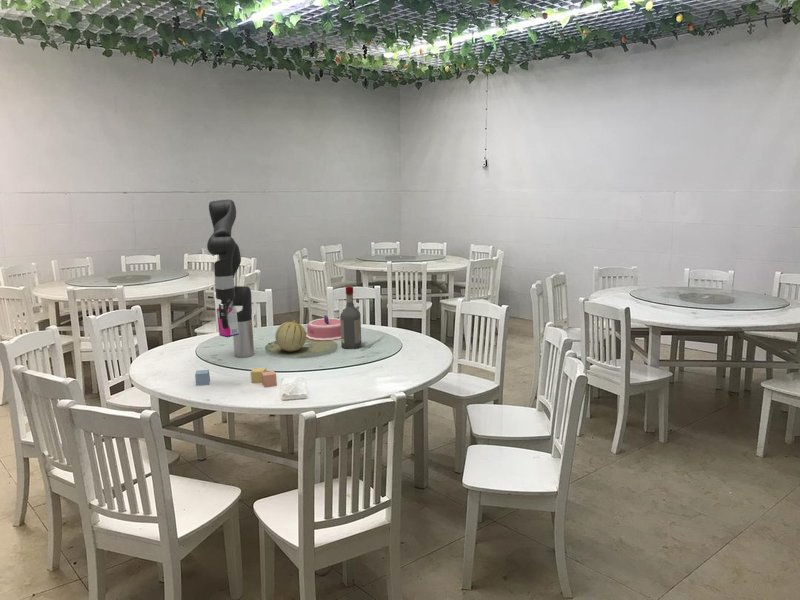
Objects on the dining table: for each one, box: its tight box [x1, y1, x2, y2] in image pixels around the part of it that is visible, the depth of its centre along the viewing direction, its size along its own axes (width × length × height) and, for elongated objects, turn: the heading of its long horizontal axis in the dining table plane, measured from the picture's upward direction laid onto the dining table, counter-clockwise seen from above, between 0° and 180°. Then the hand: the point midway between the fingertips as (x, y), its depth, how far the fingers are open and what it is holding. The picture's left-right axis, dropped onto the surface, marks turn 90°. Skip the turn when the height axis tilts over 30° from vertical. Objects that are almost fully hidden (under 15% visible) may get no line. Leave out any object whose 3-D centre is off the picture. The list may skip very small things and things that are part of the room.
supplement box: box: [216, 306, 239, 338], centre depth 245 cm, size 6×6×12 cm
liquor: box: [339, 286, 362, 350], centre depth 296 cm, size 9×9×30 cm
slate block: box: [194, 369, 211, 387], centre depth 249 cm, size 5×5×5 cm
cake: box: [306, 315, 341, 342], centre depth 322 cm, size 25×25×11 cm
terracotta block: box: [261, 370, 278, 388], centre depth 245 cm, size 5×5×5 cm
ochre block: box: [250, 367, 267, 384], centre depth 250 cm, size 5×5×5 cm
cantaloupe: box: [274, 319, 307, 353], centre depth 292 cm, size 15×15×15 cm
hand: (227, 325), depth 245 cm, fingers closed on supplement box, 8 cm apart
